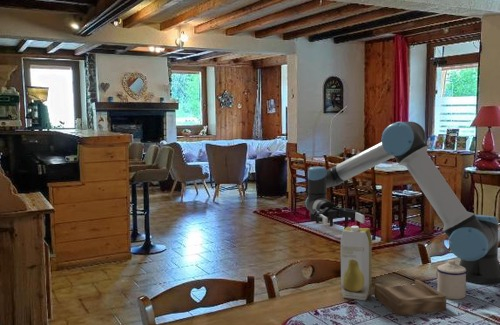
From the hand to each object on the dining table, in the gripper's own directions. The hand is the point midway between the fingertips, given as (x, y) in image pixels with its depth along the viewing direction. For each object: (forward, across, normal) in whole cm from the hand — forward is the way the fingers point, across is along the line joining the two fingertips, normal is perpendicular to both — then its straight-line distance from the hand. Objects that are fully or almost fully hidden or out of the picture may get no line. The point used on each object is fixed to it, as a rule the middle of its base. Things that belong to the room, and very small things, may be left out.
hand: (345, 220), depth 172 cm
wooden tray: (+20, -14, -23) cm, 34 cm away
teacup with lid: (+15, -30, -23) cm, 41 cm away
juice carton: (+10, 0, -24) cm, 26 cm away
